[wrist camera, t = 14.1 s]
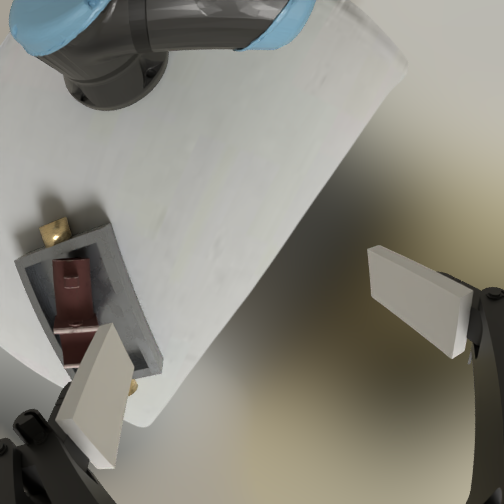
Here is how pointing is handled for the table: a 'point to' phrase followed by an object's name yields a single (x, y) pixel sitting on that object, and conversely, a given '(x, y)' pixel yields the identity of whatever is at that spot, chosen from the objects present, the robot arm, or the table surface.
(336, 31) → the table surface
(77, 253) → the cradle
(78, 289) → the bracket
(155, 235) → the table surface
